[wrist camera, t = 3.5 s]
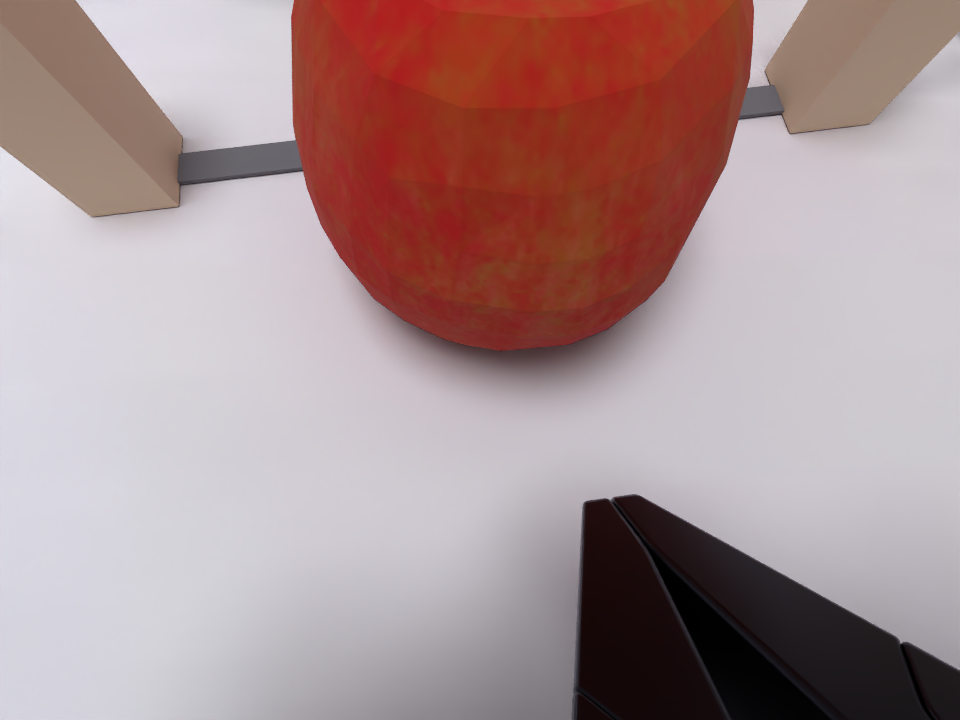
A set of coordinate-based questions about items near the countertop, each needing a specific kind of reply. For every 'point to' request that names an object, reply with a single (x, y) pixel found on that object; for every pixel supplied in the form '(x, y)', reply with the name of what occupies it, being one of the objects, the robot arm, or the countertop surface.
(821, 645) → the robot arm
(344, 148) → the apple
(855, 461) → the countertop surface
